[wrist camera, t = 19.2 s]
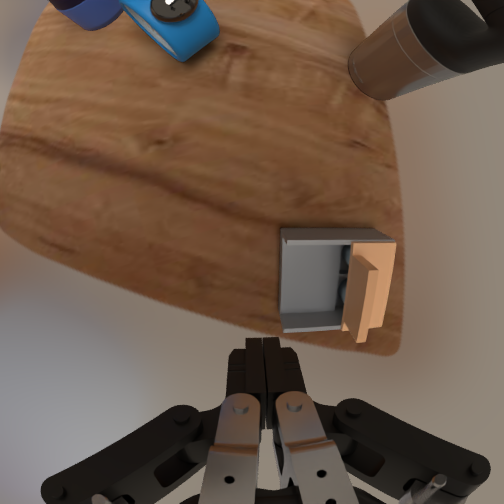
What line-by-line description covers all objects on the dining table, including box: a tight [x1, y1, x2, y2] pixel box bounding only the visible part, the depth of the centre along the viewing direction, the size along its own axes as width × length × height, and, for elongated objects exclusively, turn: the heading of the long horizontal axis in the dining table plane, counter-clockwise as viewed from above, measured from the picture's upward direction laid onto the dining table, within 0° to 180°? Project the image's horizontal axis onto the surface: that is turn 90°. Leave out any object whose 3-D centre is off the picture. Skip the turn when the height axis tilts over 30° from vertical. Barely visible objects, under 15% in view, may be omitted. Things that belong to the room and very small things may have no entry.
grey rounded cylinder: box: [338, 278, 348, 303], centre depth 38 cm, size 4×4×5 cm
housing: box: [278, 228, 395, 333], centre depth 37 cm, size 14×12×7 cm
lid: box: [341, 241, 396, 343], centre depth 31 cm, size 6×12×6 cm, turn 1°
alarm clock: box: [119, 0, 220, 62], centre depth 22 cm, size 13×6×15 cm, turn 41°
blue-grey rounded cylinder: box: [342, 245, 351, 266], centre depth 36 cm, size 4×4×5 cm
